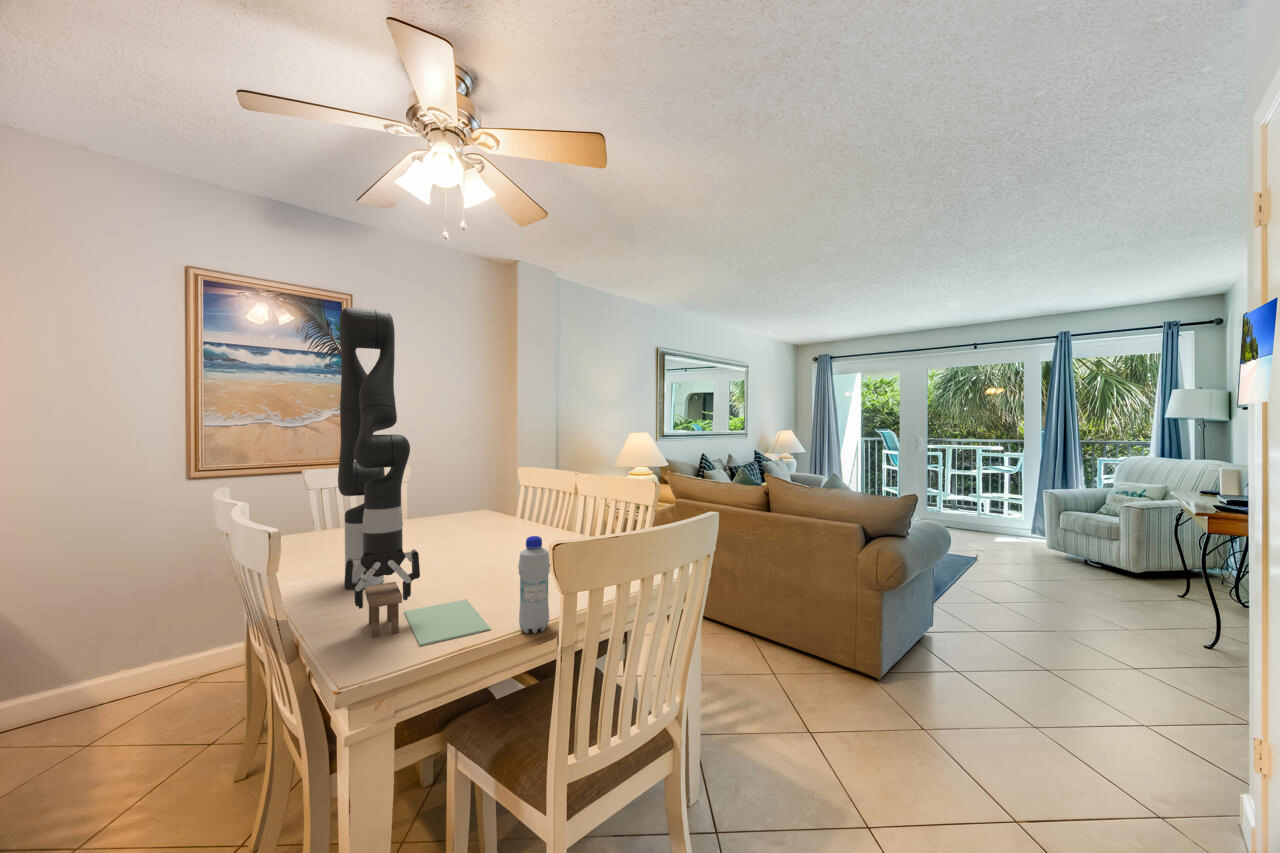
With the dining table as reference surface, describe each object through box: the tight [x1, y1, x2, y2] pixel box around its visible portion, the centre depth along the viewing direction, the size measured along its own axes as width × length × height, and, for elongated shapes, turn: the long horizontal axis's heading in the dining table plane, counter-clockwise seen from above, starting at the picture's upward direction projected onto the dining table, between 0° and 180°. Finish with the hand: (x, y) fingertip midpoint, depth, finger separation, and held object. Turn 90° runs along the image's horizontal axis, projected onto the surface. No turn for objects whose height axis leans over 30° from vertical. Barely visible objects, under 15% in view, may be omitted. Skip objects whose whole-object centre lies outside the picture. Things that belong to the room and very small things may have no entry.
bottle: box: [517, 535, 551, 634], centre depth 106 cm, size 7×7×20 cm
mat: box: [403, 599, 491, 647], centre depth 110 cm, size 20×14×1 cm
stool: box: [364, 581, 403, 639], centre depth 106 cm, size 10×6×8 cm, turn 33°
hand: (383, 603), depth 106 cm, fingers open, 8 cm apart
